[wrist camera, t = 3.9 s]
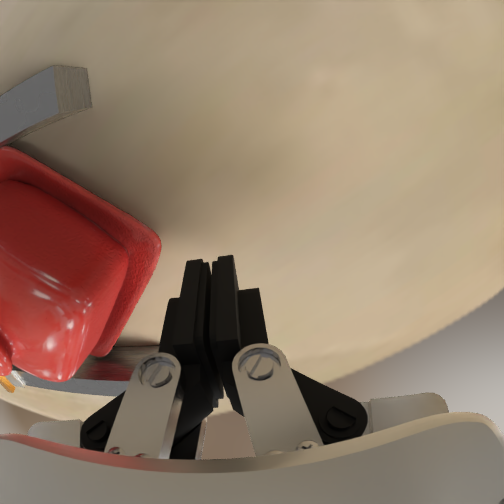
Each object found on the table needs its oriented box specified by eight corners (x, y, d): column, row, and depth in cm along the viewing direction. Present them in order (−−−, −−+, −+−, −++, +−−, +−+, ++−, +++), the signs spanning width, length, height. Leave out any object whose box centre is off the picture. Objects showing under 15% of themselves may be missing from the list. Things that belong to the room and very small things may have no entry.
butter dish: (10, 130, 10) (-107, 186, 3) (177, 228, 14) (138, 370, 7) (-11, 275, 14) (-67, 353, 7) (110, 349, 18) (83, 451, 11)
